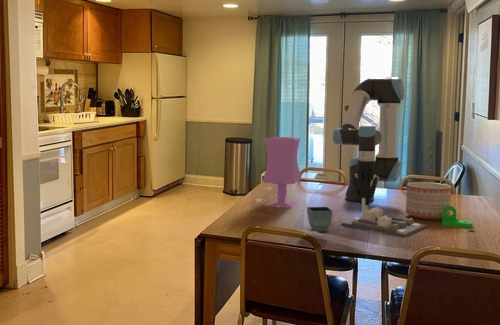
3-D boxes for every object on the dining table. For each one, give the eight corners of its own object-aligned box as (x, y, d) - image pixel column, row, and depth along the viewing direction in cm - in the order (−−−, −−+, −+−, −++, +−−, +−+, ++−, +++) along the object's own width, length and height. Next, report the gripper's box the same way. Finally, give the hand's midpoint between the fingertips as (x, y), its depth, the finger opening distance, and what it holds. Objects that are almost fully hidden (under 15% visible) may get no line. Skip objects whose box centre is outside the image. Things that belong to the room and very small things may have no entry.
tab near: (377, 227, 194) (377, 216, 193) (382, 225, 197) (382, 214, 196) (386, 229, 191) (387, 217, 191) (391, 227, 194) (391, 216, 193)
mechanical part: (441, 225, 204) (442, 207, 203) (442, 222, 209) (443, 205, 209) (472, 228, 199) (473, 210, 198) (472, 225, 205) (473, 207, 204)
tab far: (370, 218, 211) (370, 207, 211) (374, 216, 214) (374, 206, 214) (378, 219, 208) (378, 208, 208) (382, 218, 211) (383, 207, 211)
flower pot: (306, 228, 198) (306, 206, 197) (327, 227, 198) (327, 206, 198) (310, 233, 189) (311, 211, 188) (332, 233, 190) (332, 210, 189)
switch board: (341, 225, 203) (341, 217, 202) (366, 217, 219) (366, 210, 219) (404, 237, 184) (404, 229, 184) (426, 227, 200) (426, 219, 200)
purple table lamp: (271, 202, 253) (272, 136, 249) (300, 204, 248) (301, 137, 244) (262, 207, 238) (263, 138, 235) (293, 210, 233) (294, 139, 230)
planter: (429, 223, 208) (430, 189, 207) (396, 214, 225) (398, 183, 224) (458, 218, 217) (460, 186, 216) (425, 211, 234) (427, 181, 233)
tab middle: (362, 220, 206) (362, 209, 205) (366, 219, 209) (367, 208, 208) (370, 222, 203) (371, 211, 203) (375, 220, 206) (375, 209, 206)
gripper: (349, 159, 214) (347, 211, 217) (375, 161, 205) (373, 215, 208) (357, 158, 220) (355, 208, 222) (383, 160, 211) (381, 212, 213)
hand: (364, 212), depth 215 cm, fingers closed
